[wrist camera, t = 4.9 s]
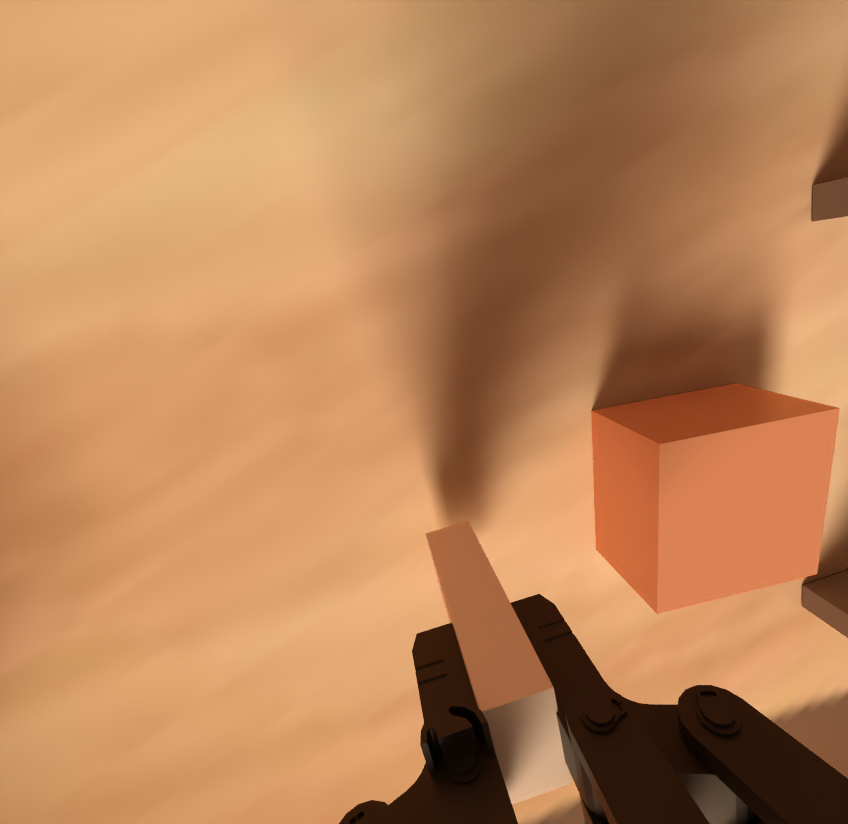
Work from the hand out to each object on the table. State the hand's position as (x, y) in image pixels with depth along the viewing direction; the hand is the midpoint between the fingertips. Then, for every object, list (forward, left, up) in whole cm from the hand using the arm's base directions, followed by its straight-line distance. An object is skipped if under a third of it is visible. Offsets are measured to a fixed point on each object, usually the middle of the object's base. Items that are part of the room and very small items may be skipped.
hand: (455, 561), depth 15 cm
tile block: (-9, 0, -2) cm, 9 cm away
